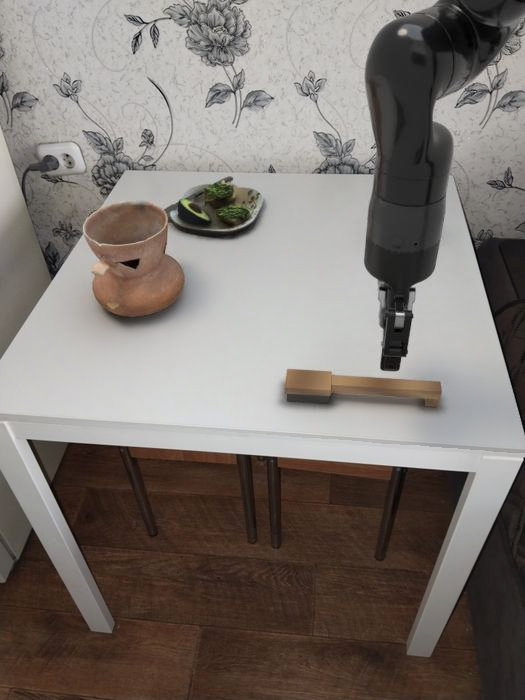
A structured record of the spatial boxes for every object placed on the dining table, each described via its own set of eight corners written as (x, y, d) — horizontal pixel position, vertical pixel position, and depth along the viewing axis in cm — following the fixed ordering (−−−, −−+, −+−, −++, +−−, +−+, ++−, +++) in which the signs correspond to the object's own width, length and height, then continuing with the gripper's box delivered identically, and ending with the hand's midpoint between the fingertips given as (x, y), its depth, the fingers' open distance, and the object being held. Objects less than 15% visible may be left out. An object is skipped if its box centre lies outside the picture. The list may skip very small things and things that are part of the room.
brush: (435, 393, 79) (440, 376, 77) (438, 412, 77) (442, 396, 74) (287, 383, 81) (286, 367, 79) (284, 402, 79) (284, 386, 76)
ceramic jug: (151, 342, 88) (133, 264, 78) (73, 316, 93) (47, 240, 83) (209, 274, 99) (200, 199, 90) (138, 255, 104) (122, 181, 94)
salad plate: (194, 179, 123) (192, 159, 120) (276, 190, 119) (276, 169, 115) (155, 229, 110) (150, 207, 107) (245, 243, 106) (243, 221, 102)
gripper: (448, 271, 55) (424, 389, 66) (435, 194, 65) (416, 307, 76) (367, 268, 56) (356, 385, 67) (366, 192, 66) (357, 305, 77)
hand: (388, 343), depth 71 cm, fingers open, 8 cm apart
